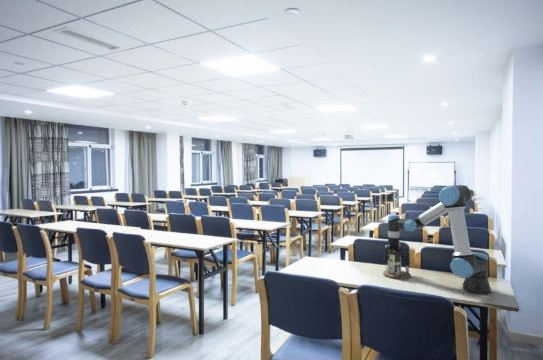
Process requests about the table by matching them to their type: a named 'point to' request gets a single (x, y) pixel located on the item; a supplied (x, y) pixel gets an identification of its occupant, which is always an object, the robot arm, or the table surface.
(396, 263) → the coffee can
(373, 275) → the table surface
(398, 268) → the locating disc
